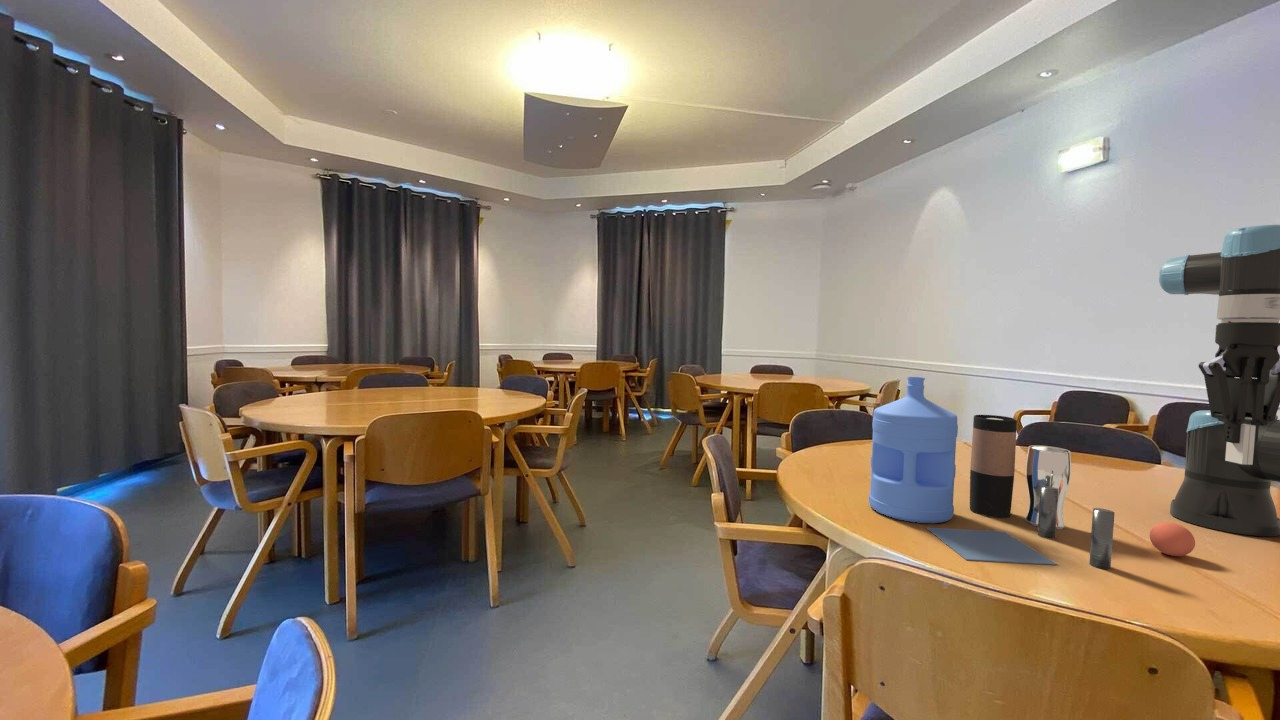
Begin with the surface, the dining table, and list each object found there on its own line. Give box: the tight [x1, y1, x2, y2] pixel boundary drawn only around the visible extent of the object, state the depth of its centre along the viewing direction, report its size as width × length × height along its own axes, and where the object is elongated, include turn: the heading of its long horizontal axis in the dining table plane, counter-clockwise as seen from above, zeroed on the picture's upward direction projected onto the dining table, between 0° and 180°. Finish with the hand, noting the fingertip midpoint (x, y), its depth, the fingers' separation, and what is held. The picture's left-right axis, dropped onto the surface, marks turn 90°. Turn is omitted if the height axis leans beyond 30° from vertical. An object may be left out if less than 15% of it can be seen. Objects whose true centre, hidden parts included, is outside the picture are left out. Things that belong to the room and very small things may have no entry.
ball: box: [1149, 521, 1196, 557], centre depth 90 cm, size 6×6×6 cm
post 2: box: [1089, 507, 1115, 570], centre depth 85 cm, size 3×3×9 cm
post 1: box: [1037, 486, 1058, 540], centre depth 97 cm, size 3×3×9 cm
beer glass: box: [1025, 444, 1072, 531], centre depth 104 cm, size 7×7×15 cm
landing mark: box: [926, 527, 1058, 566], centre depth 93 cm, size 14×14×1 cm
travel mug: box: [969, 414, 1018, 519], centre depth 110 cm, size 8×8×20 cm
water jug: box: [868, 376, 959, 524], centre depth 109 cm, size 16×16×28 cm
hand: (1238, 462), depth 89 cm, fingers closed
